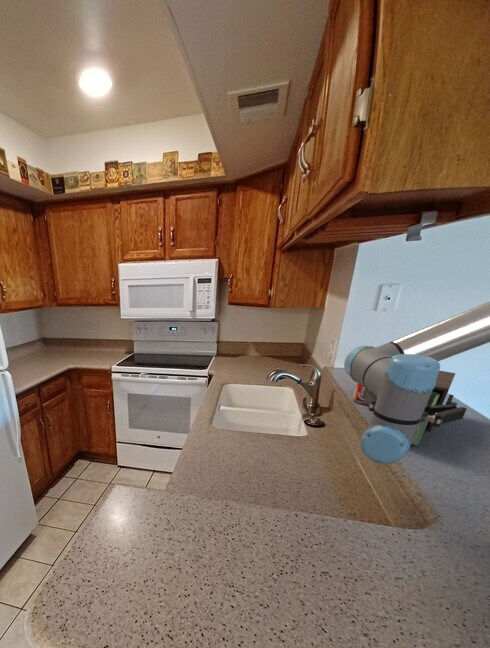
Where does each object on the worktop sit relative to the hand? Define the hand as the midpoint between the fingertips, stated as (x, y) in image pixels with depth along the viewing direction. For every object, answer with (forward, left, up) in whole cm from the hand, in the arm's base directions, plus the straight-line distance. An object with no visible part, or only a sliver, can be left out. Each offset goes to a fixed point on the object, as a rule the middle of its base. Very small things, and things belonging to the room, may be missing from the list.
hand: (416, 393), depth 84 cm
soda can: (+37, -13, -18) cm, 43 cm away
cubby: (+23, -23, -18) cm, 37 cm away
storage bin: (+11, -11, -17) cm, 23 cm away
